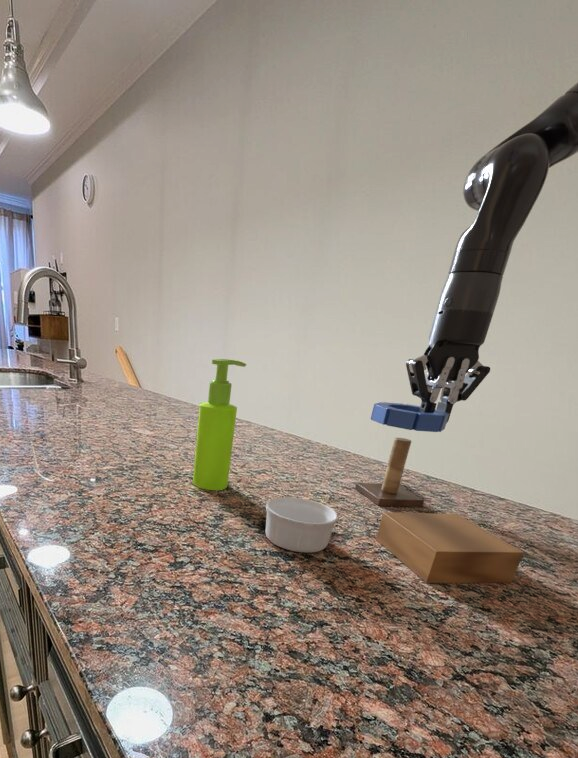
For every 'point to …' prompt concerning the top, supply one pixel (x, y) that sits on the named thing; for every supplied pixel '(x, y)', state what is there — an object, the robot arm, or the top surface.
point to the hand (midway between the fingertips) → (430, 425)
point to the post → (392, 481)
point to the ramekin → (299, 524)
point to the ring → (409, 417)
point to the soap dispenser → (215, 432)
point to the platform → (448, 548)
